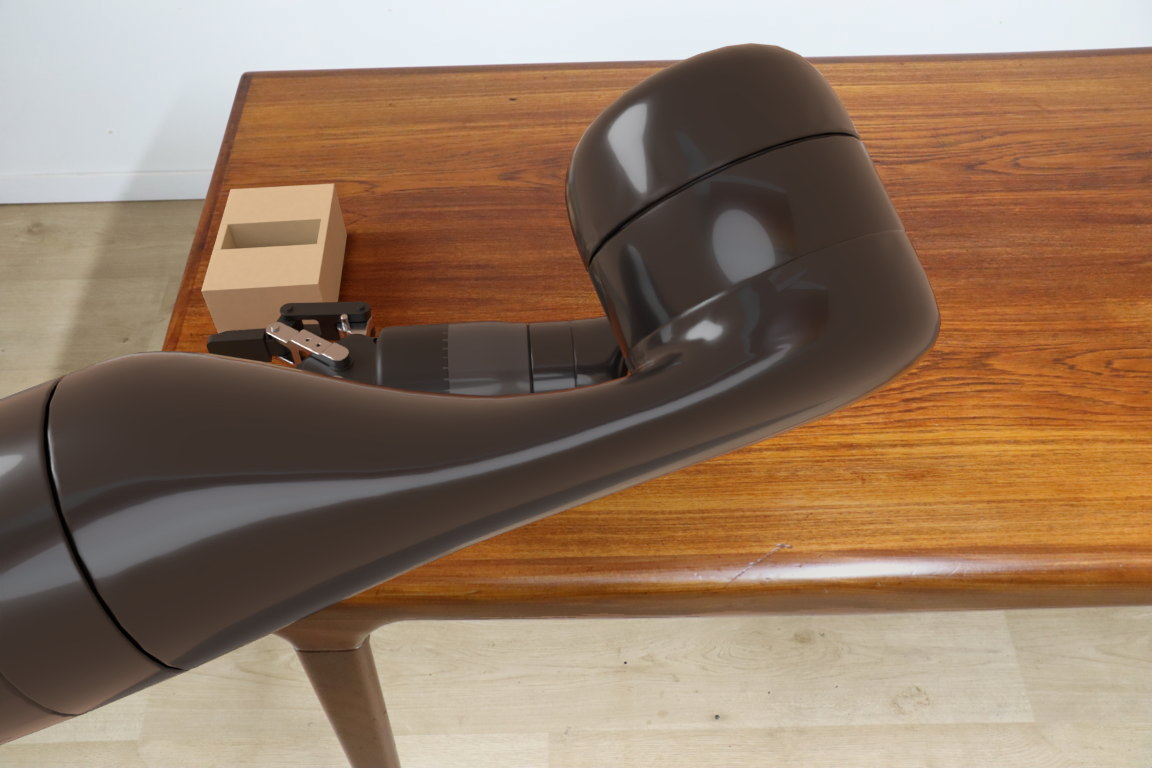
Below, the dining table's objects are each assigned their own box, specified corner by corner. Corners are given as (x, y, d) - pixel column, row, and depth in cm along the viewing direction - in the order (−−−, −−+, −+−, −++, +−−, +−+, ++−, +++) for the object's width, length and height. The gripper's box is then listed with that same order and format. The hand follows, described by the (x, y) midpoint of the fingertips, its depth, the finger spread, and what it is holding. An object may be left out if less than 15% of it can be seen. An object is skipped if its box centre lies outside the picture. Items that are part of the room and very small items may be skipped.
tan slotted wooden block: (333, 336, 81) (318, 283, 77) (222, 343, 81) (200, 290, 76) (347, 229, 91) (335, 176, 87) (249, 234, 91) (232, 182, 87)
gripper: (453, 263, 62) (200, 278, 61) (451, 429, 52) (150, 449, 51) (464, 345, 67) (232, 360, 66) (464, 509, 58) (193, 528, 57)
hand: (197, 398), depth 59 cm, fingers open, 8 cm apart
